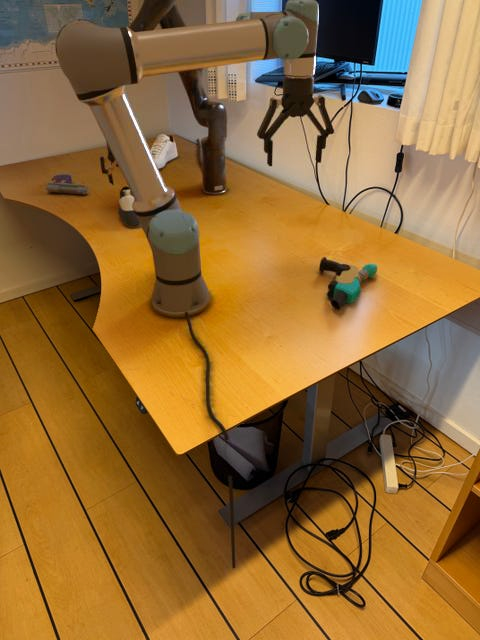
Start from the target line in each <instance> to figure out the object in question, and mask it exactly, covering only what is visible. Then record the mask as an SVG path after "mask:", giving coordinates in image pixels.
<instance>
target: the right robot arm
mask: <svg viewBox="0 0 480 640" xmlns="http://www.w3.org/2000/svg"><path fill="white" fill-rule="evenodd" d="M176 1H177V0H143V1H142V5H141V7H140V9H139V11H138V13H137V14H136V16H135V17H134V18H133V20H132V21H131V23H129V25H128V26H127V27H128V28H130V29H131V30H132V31H133V32H143V31H152V30H156V28H157V27H158V25H159V27H160V30H161V29H169V28H178V27H187V26H188V25H186V22H185V21H184V19H183V17H182V14H181V12H180V11H179V7H178V4H177V2H176ZM177 75H178V76H179V79H180V80H181V83H182V85H183V88H184V90H185V92H186V96H187V98H188V101H189V104H190V107H191V110H192V113H193V116H194V119H195V121H196V123H197V124H198V125H199V126H201V127H204V128H207V135H206V136H204V137H202V138H201V139H199V138H196V142H197V146H198V147H197V148H198V149H197V151H198V152H197V154H198V160H199V164H200V166H201V172H202V173H201V176H202V177H201V179H202V191H203V193H204V194H207V195H214V196H215V195H223V194H224V193H226V192H227V191H228V188H227V161H226V160H227V159H226V141H227V138H228V111H227V108H226V105H224V103H222V102H219V101H215V100H210V98H208V95H207V93H206V90H205V88H204V86H203V85H204V84H203V79H204V68H202V69H195V70H188V71H181V72H177ZM105 143H106V149H107V155H103V154H100V155H99V162H100V169H101V173H102V174H103V175H107V177H108V178H107V179H108V182H109V184H111V185H112V186H114V183H115V182H114V178H113V171H114V170H115V168H116V167H117V168H119V166H118V164H117V162H116V160H115V158H114V156H113V154H112V152H111V150H110V148H109V146H108V143H107V141H106V140H105ZM107 160H108V161H109V162H110V164H109V165H108V167H107V168H106V164H105V163H107Z"/></svg>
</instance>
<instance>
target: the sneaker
mask: <svg viewBox="0 0 480 640" xmlns="http://www.w3.org/2000/svg"><path fill="white" fill-rule="evenodd" d="M150 151H151V153H152V155H153V158H154V160H155V162H156V165H157V167H158V169H159V170H160V169H162V168H164V167H165V166H166V164H167V163H168V162H170V161H172V160H175V159H176V158H177V157H178V156H179V155H178V149H177V144H176V140H175V136H174V135H173V134H164V133H161V134H158V135H157V137H156V139H155V140H154V142H153V143H152V146H151V148H150Z"/></svg>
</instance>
